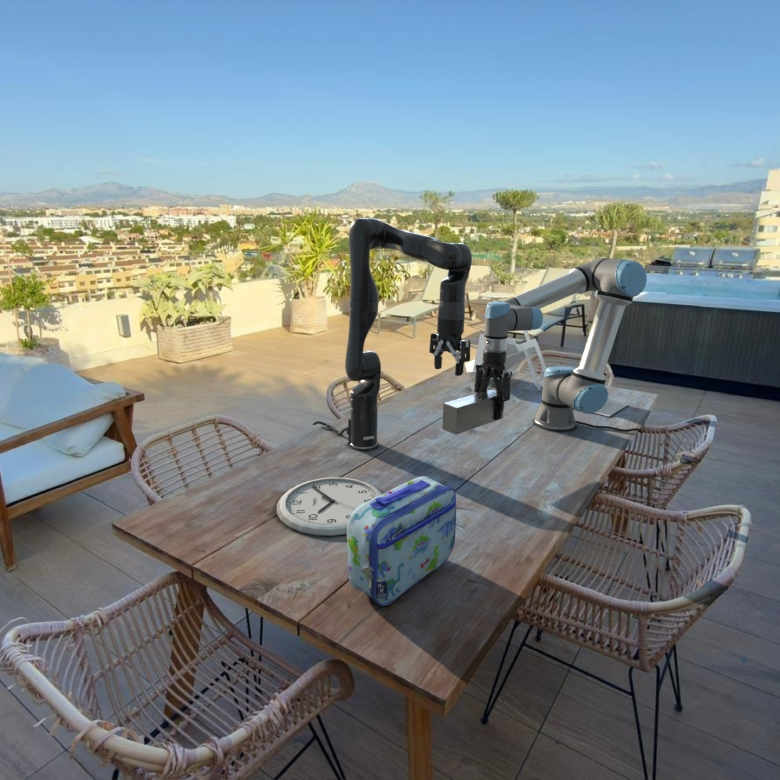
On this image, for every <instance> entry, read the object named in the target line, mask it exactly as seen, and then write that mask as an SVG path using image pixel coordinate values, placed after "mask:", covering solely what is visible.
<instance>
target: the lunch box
mask: <svg viewBox="0 0 780 780" xmlns="http://www.w3.org/2000/svg"><path fill="white" fill-rule="evenodd" d="M456 524H457V494H456V490H455V488H454V487H453V486H451V485H444V484H441V483H440V482H438V481H436V480H434V479H432V478H431V477H428V476H422V475H421V476H419V477H416V478H413V479H411V480H408V481H407V482H404V483H402V484H400V485H398V486H396V487H394V488H392V489H390V490H388V491H386V492H383V494H381V495H380V496H378V497H376V498H374V499H372V500H370V501H368V502H365V503H363V504H362V505H360V506H358V507H357V508H356V509H355V510H354V511H353V513H352V514H351V516H350V518H349V521H348V525H347V534H346V545H347V546H346V548H347V570H348V572H347V573H348V581H349V583H350V585H351V587H353V588H354V589H356V590H358V591H361V592H362V593H364V594H365V595H366V596H368V597H369V598H371V599H372V601H373V602H374V603H375V604H378V605H379V606H383V607H386V606H388V605H390V604H392V603H394V601H396V600H397V599H398V598H399V597H400V596H402V595H403V594H404V593H406V592H407V591H408V590H410V589H411V588H413V587H414V586H415V585H417V584H418V583H419V582H421V580H422V579H424V577H426V576H427V575H430V573H432V572H434V571H435V570H436V569H438V568H440V567H441V566H442V565H444V563H446V562H447V561H448V559H449V558H450V556H451V554H452V552H453V549H454V546H455V542H456V529H457V525H456Z"/></svg>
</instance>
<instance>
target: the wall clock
mask: <svg viewBox="0 0 780 780" xmlns="http://www.w3.org/2000/svg"><path fill="white" fill-rule="evenodd" d="M381 494H384V492H382V491H381V490H380V489H379V488H377V487H376V486H374V485H372V484H371V483H369V482H365V481H362V480H359V479H355V478H349V477H338V476H337V477H335V476H333V477H332V476H331V477H322V478H317V479H312V480H307V481H305V482H302V483H299V484H297V485H295V486H293V487H292V488H290V489H288V490H287V491H286V492H285V493H284V494H283V495H281V496H280V498H279V499H278V502H277V503H276V515H277V517H278V518H279V520H280V521H281V522H282V523H283V524H285V525H286V526H287V527H288V528H290V529H293V530H295V531H297V532H299V533H303V534H308V535H312V536H327V537H328V536H329V537H331V536H332V537H333V536H342V535H347V525H348V521H349V518H350V516H351V514H352V513H353V511H354V510H355V509H356V508H357V507H358V506H360V505H362V504H363V503H365V502H368V501H370V500H372V499H374V498H376V497H378V496H380V495H381Z"/></svg>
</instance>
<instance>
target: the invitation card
mask: <svg viewBox="0 0 780 780" xmlns="http://www.w3.org/2000/svg"><path fill="white" fill-rule="evenodd" d="M628 406H629V404H627V403H623V402H618V401H614V400H609V399H607V402H606V403H605V405H604V406H603V407H602V408H601V409H600V410H598V411H597V412H595V413H594V414H596V415H600V416H604V417H608V418H609V417H611V416H613V415H614V414H616V413H617V412H619V411H621V410H623V409H624V408H626V407H628Z"/></svg>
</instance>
